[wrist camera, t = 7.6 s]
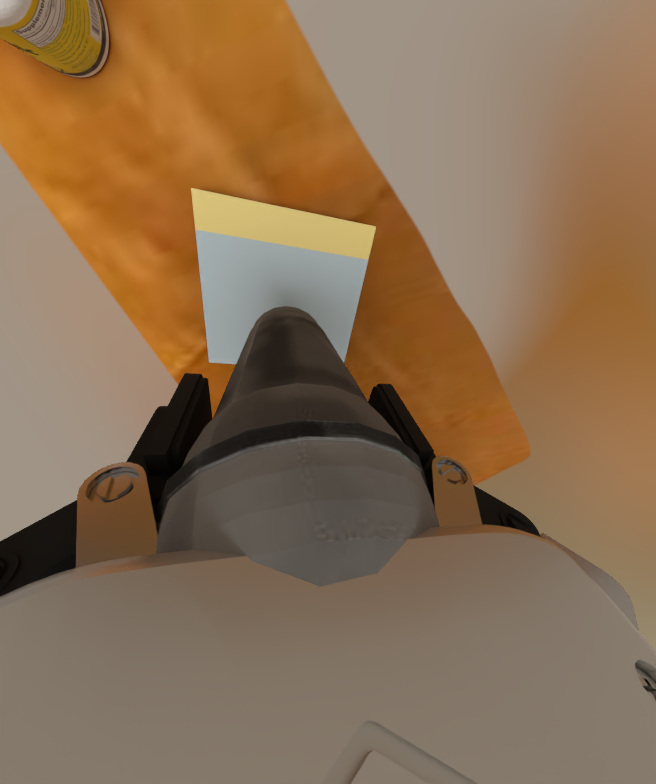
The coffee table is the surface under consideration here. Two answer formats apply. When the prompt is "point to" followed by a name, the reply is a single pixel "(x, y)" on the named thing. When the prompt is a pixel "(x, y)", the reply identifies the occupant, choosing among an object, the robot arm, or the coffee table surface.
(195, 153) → the coffee table surface
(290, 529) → the beverage cup
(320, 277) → the plate
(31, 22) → the supplement bottle
